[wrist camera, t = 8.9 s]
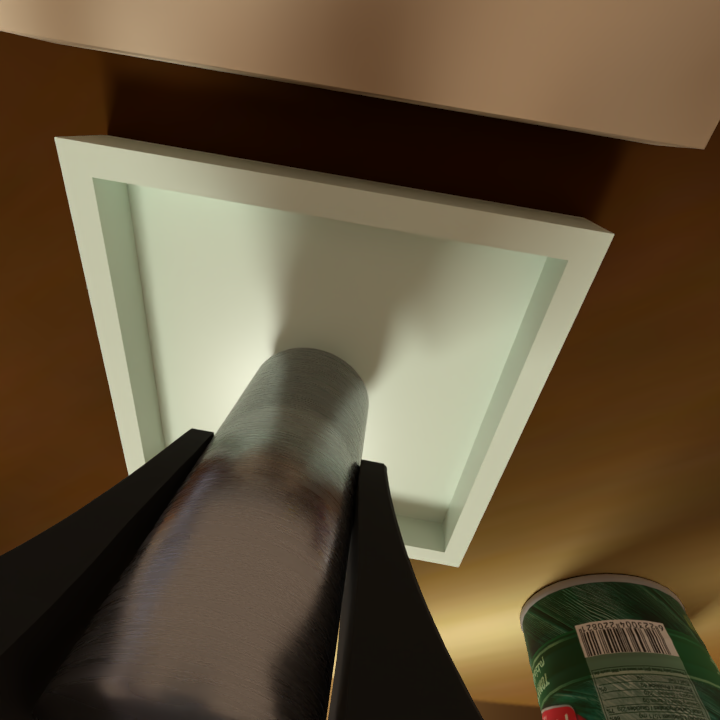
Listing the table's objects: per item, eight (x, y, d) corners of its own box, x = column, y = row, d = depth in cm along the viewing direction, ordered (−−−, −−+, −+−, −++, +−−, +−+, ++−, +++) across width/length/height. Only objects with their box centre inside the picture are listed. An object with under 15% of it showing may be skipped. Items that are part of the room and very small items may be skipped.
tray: (160, 472, 19) (135, 506, 17) (106, 135, 12) (54, 136, 10) (454, 526, 19) (458, 567, 17) (584, 217, 11) (615, 233, 10)
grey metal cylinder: (250, 436, 14) (64, 782, 7) (253, 337, 13) (-4, 655, 5) (359, 456, 14) (305, 830, 6) (378, 360, 13) (334, 720, 5)
